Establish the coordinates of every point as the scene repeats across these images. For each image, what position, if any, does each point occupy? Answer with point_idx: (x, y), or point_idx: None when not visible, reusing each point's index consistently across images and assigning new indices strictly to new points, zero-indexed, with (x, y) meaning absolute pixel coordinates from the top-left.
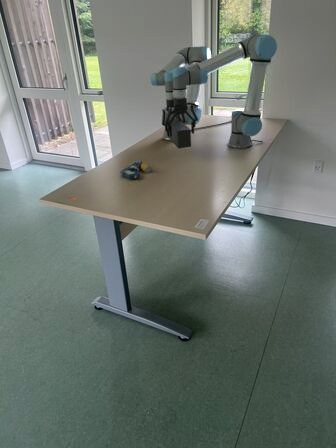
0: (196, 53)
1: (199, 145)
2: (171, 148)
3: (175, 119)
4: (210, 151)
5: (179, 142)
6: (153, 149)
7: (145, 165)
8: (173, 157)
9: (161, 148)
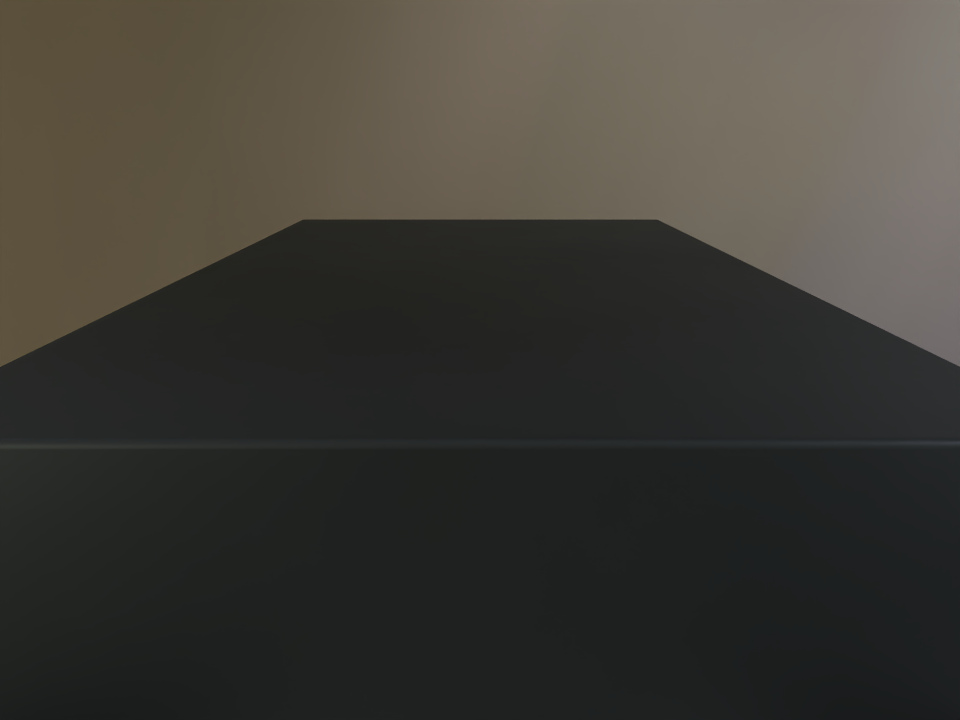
0: None
1: (947, 229)
2: (434, 149)
3: (748, 612)
4: None
5: None
6: (79, 33)
7: None
8: None
9: (246, 50)
